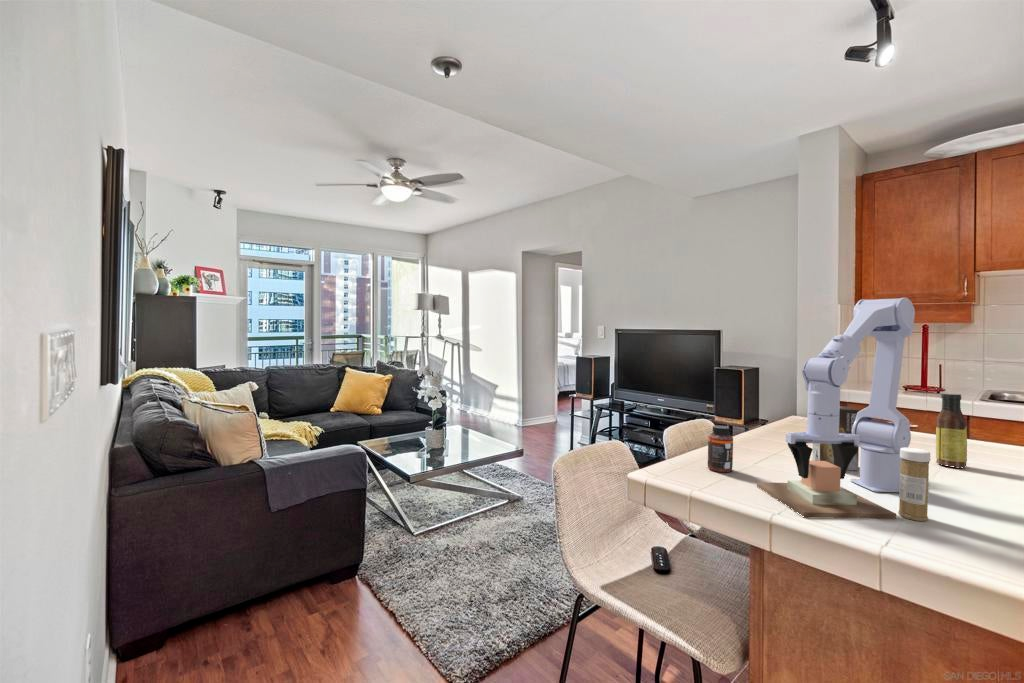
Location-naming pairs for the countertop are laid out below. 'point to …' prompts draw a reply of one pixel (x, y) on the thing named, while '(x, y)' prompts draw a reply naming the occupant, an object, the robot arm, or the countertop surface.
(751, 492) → the countertop surface
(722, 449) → the supplement bottle
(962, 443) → the sauce bottle
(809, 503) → the walnut base board
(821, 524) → the countertop surface
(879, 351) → the robot arm
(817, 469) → the terracotta cube
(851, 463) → the coffee box
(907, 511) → the sprinkles bottle
